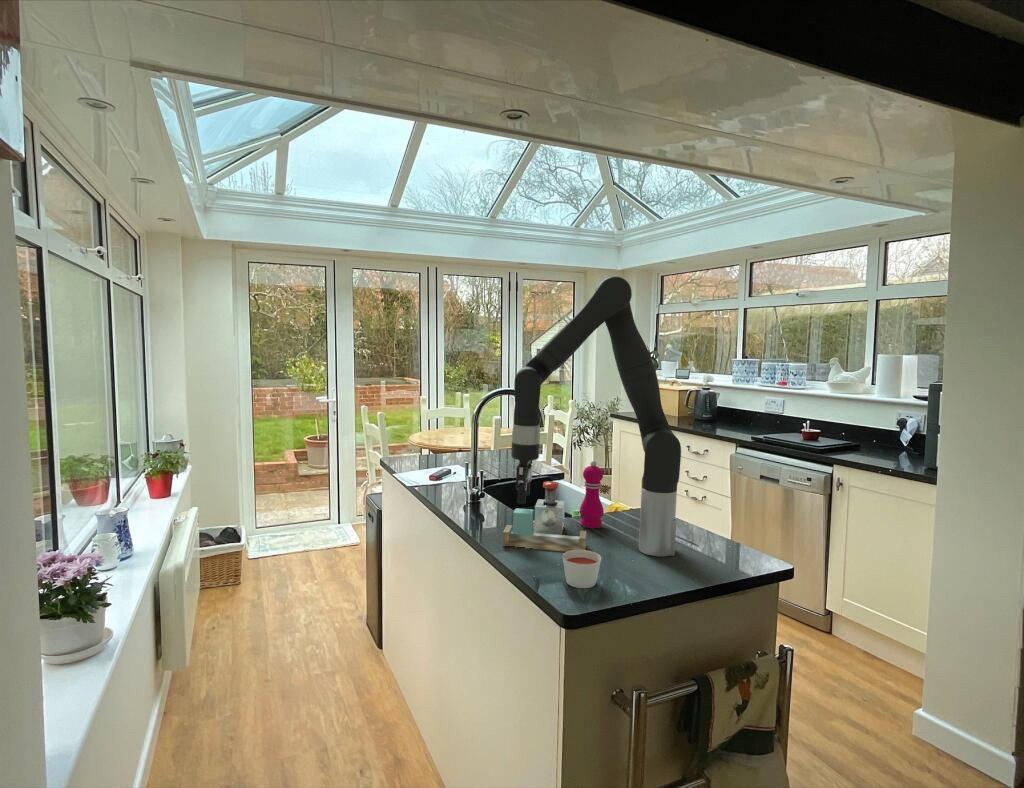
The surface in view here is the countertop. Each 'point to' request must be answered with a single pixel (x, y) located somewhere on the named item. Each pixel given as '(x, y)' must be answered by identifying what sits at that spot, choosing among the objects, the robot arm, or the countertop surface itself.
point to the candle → (581, 568)
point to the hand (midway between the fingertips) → (523, 499)
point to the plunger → (550, 492)
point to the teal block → (523, 521)
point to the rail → (542, 546)
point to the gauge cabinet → (549, 517)
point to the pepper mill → (592, 497)
